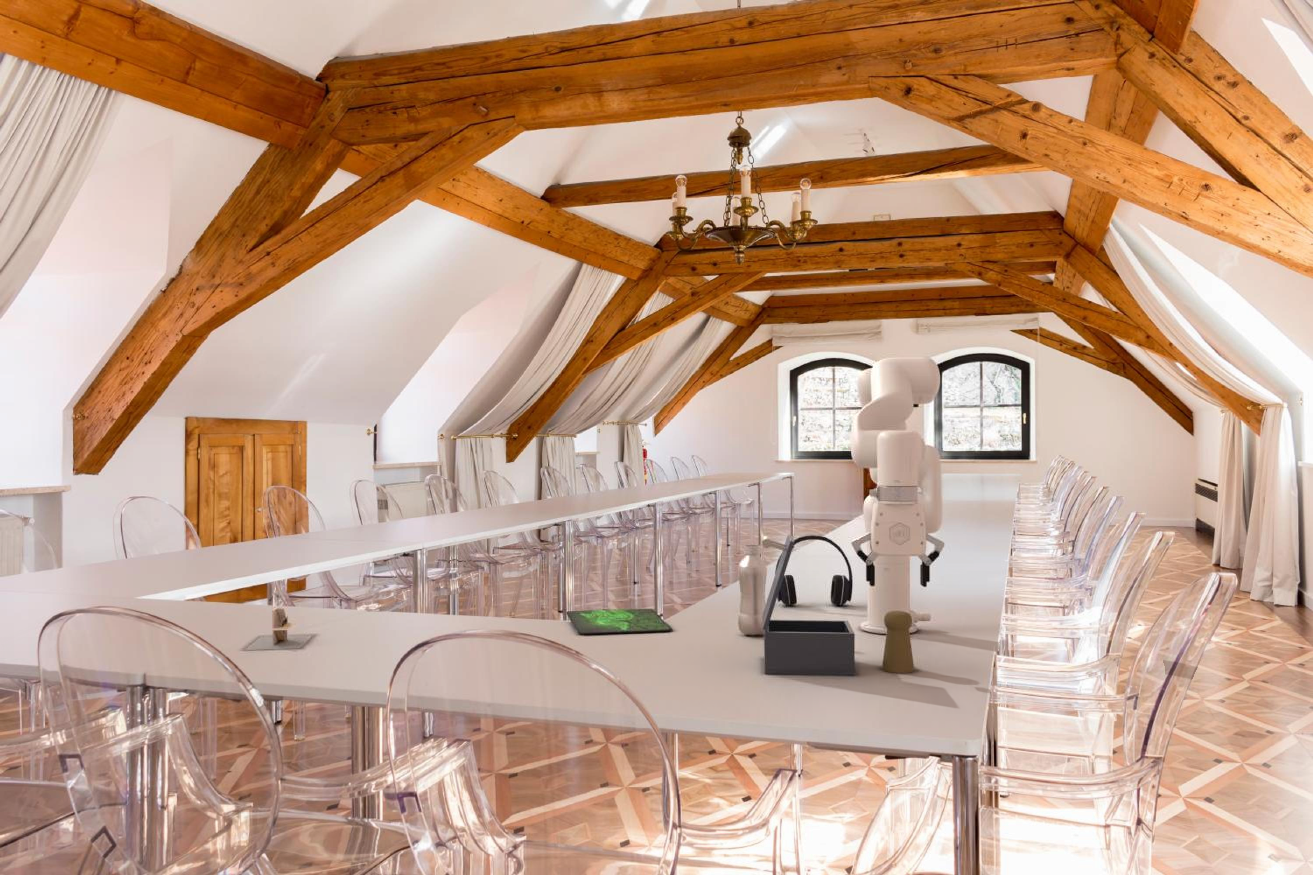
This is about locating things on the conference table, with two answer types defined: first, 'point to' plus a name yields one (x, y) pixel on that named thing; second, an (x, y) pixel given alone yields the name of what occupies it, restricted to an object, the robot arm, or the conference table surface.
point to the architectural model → (279, 634)
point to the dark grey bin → (809, 647)
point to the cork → (898, 643)
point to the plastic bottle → (752, 590)
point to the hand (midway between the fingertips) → (897, 585)
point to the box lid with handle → (778, 576)
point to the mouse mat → (617, 621)
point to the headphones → (839, 587)
